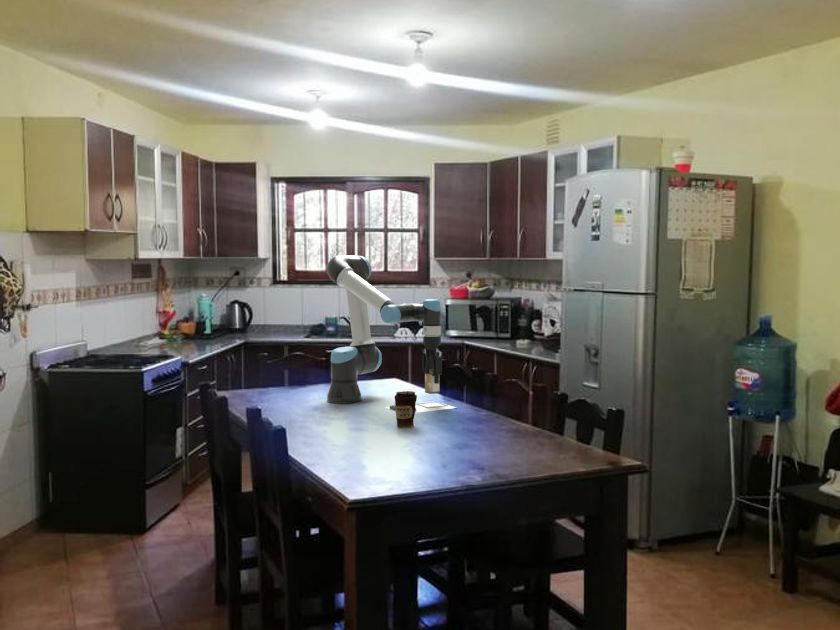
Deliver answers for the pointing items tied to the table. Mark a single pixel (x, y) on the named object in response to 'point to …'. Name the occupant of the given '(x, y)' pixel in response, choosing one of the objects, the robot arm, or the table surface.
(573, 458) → the table surface
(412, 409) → the coffee cup
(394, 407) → the ink pad
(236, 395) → the table surface
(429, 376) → the stamp
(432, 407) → the sheet
